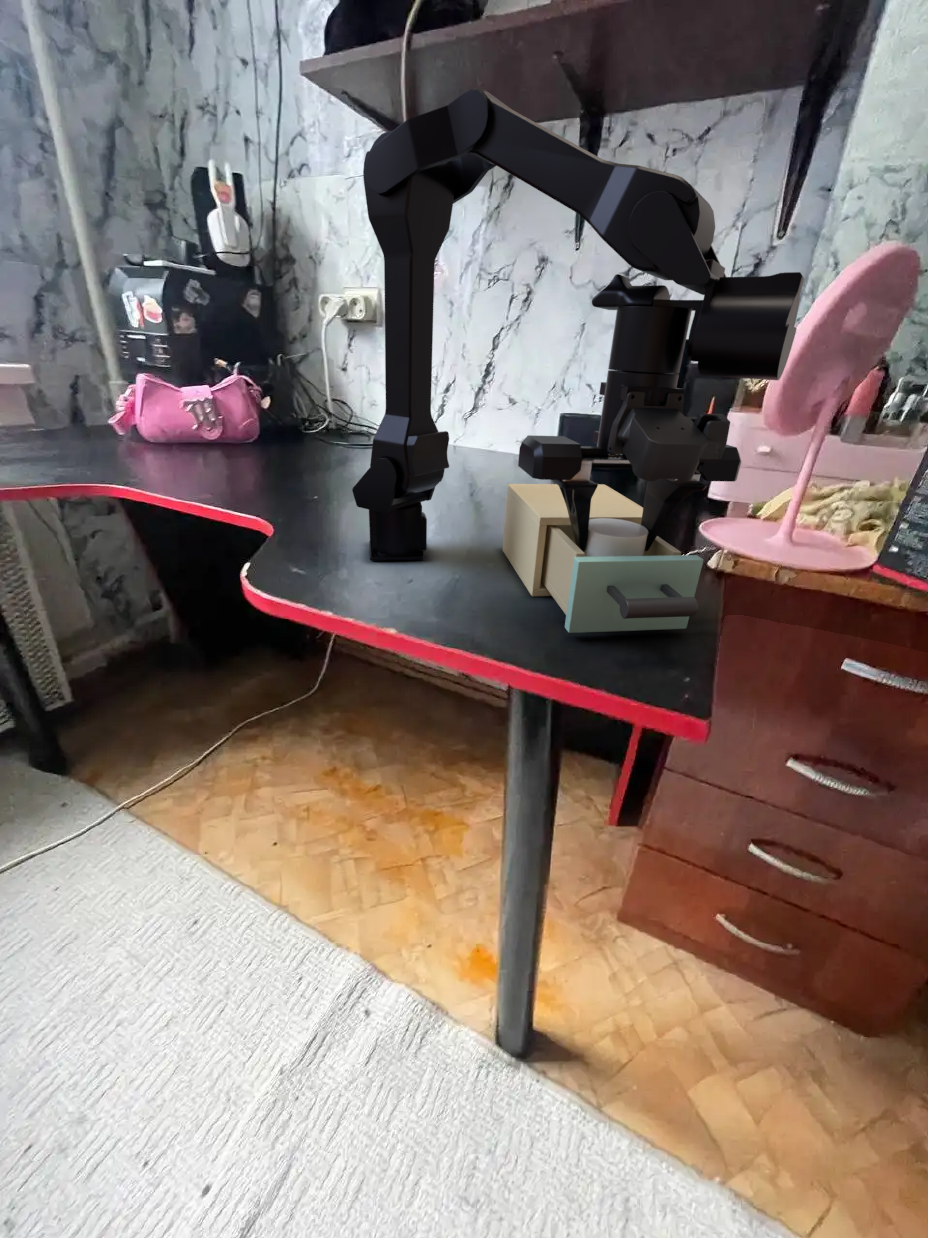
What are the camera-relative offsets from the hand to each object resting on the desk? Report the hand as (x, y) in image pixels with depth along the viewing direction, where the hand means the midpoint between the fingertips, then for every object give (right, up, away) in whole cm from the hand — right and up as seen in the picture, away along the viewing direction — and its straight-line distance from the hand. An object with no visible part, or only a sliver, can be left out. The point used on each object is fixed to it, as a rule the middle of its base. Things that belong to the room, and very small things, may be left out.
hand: (612, 550), depth 52 cm
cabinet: (-2, -1, +13) cm, 13 cm away
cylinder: (0, -1, +1) cm, 1 cm away
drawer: (0, -6, +1) cm, 6 cm away
